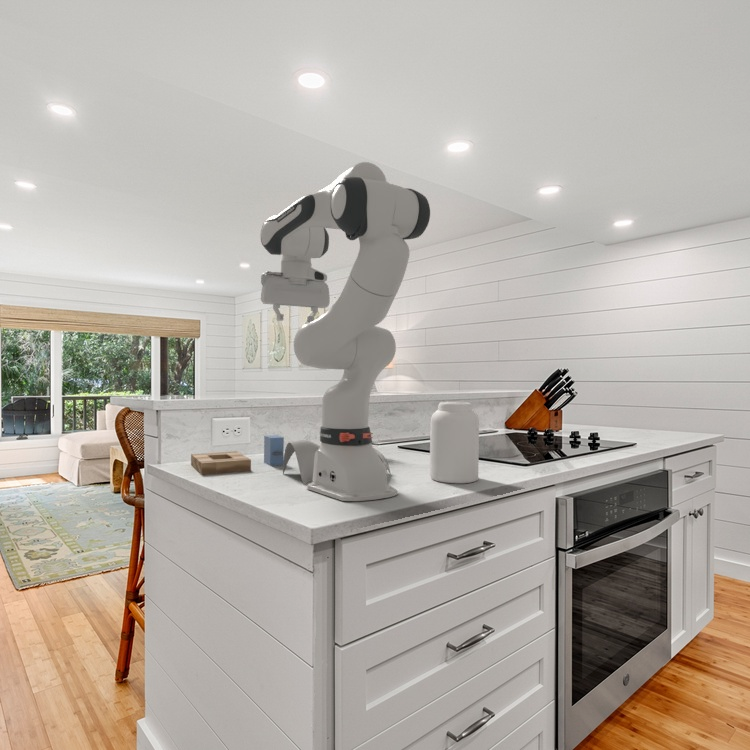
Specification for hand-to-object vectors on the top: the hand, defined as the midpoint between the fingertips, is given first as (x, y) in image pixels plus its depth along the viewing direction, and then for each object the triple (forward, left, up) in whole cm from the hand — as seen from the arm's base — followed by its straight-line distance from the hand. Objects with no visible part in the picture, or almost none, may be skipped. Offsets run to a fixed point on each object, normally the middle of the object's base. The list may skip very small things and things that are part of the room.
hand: (295, 321), depth 151 cm
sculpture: (-18, -5, -42) cm, 46 cm away
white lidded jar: (-37, -30, -42) cm, 64 cm away
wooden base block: (+4, +20, -42) cm, 47 cm away
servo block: (+4, +5, -42) cm, 42 cm away
